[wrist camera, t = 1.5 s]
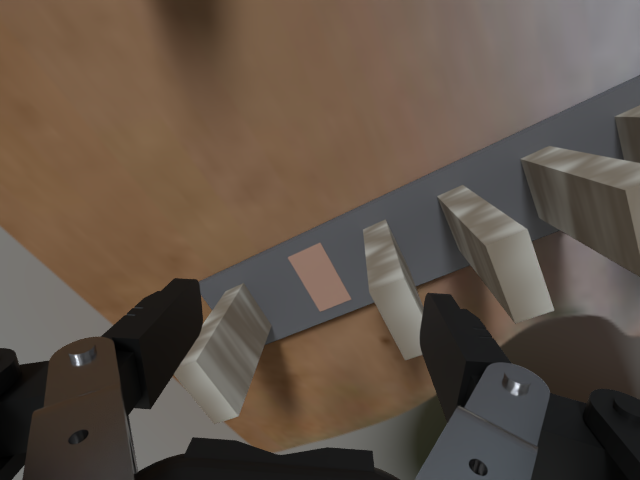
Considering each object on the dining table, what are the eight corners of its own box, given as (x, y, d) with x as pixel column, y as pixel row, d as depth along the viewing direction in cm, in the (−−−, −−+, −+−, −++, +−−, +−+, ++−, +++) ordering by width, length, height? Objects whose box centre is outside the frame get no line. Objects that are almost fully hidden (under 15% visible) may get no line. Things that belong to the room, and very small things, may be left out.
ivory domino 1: (385, 219, 32) (404, 278, 21) (409, 270, 34) (438, 349, 23) (362, 229, 33) (369, 292, 22) (387, 278, 34) (405, 360, 23)
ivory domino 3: (549, 145, 28) (676, 170, 17) (566, 206, 30) (692, 264, 19) (520, 158, 29) (625, 190, 18) (539, 218, 31) (645, 280, 20)
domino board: (686, 53, 26) (700, 50, 25) (703, 168, 29) (716, 170, 28) (198, 281, 38) (194, 286, 37) (245, 347, 41) (242, 353, 40)
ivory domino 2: (462, 184, 30) (527, 229, 19) (483, 240, 32) (554, 310, 21) (437, 196, 31) (485, 245, 20) (459, 250, 33) (515, 323, 21)
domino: (243, 283, 36) (195, 361, 25) (271, 325, 38) (238, 416, 27) (225, 291, 37) (171, 371, 26) (253, 332, 38) (214, 424, 27)
